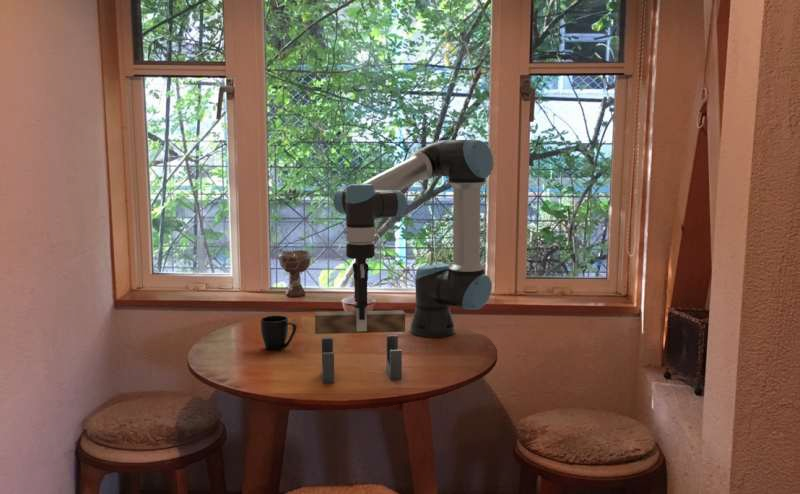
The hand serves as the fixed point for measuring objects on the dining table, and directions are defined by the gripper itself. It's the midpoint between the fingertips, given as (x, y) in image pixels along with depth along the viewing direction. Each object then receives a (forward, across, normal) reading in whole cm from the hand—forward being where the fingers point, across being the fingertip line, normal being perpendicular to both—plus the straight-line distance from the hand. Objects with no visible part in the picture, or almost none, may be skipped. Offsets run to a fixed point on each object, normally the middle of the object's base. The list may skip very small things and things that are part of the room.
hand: (360, 328), depth 169 cm
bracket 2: (+13, 0, +9) cm, 16 cm away
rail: (+1, 0, 0) cm, 1 cm away
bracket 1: (+13, 0, -9) cm, 16 cm away
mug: (+14, -28, -23) cm, 39 cm away
